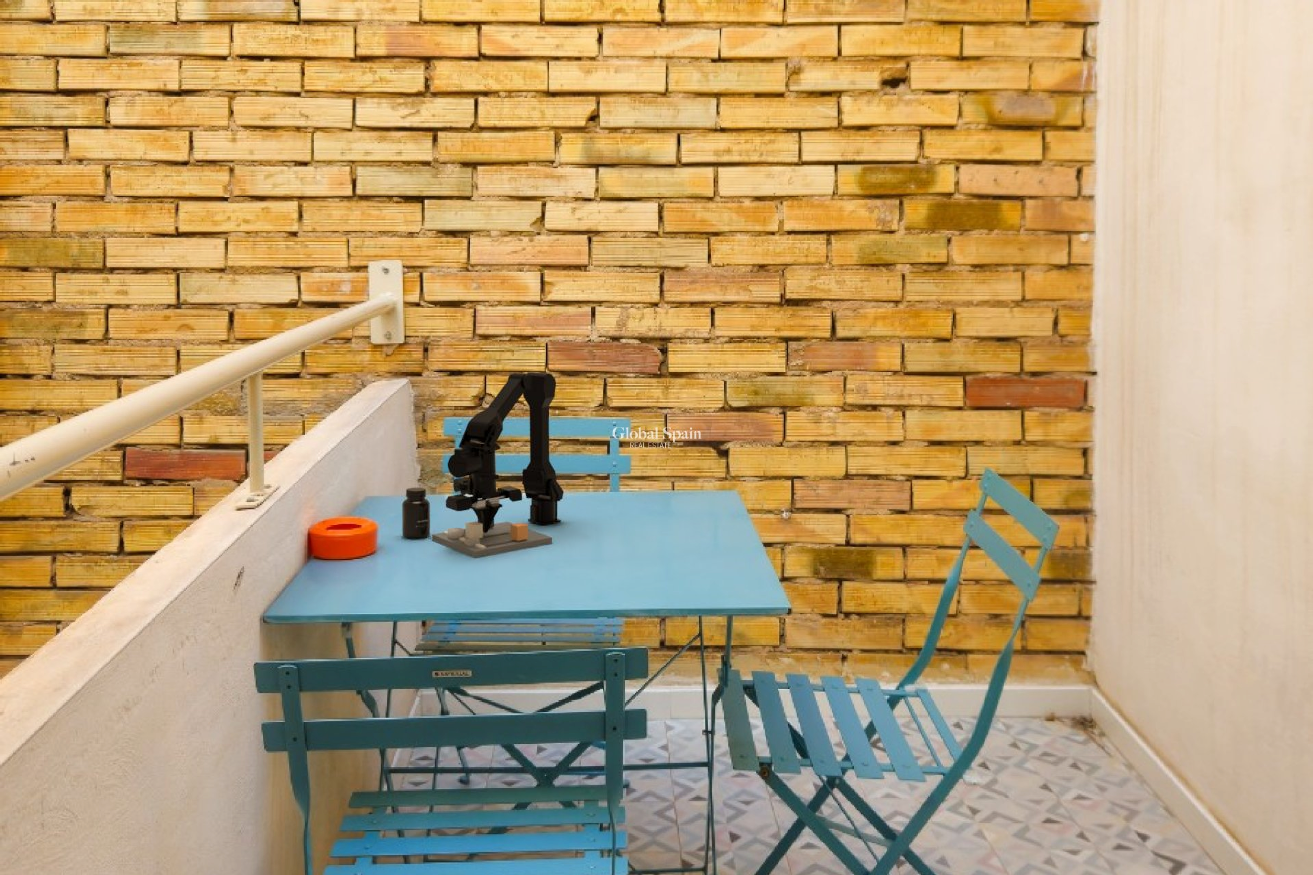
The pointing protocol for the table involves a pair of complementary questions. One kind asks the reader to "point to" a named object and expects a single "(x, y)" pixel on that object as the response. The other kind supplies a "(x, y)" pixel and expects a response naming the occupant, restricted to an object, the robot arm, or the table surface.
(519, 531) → the orange slider
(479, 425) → the robot arm
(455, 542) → the control board
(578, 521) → the table surface
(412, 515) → the supplement bottle
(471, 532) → the ivory slider
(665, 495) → the table surface
